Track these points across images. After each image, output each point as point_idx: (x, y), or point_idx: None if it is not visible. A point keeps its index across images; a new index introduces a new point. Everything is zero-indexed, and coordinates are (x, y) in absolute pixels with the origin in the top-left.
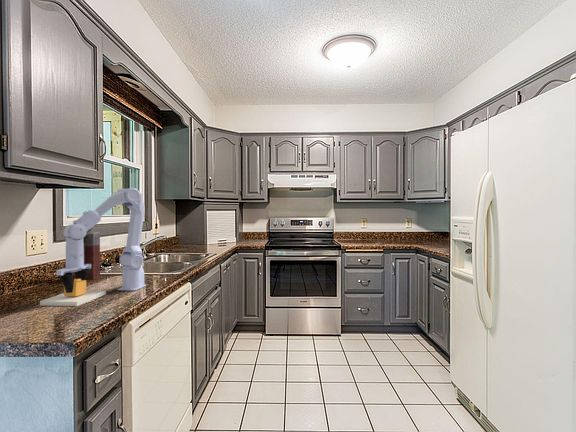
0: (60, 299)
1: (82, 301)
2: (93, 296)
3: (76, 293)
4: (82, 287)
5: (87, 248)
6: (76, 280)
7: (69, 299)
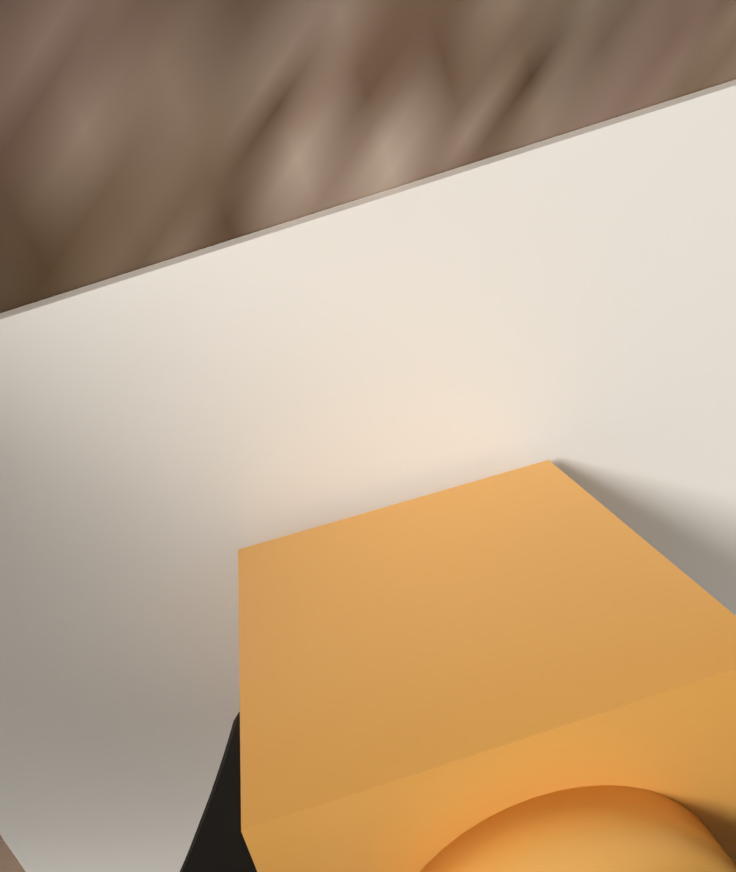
0: (719, 580)
1: (627, 115)
2: (255, 236)
3: (568, 489)
4: (402, 604)
5: None
6: (690, 850)
7: (684, 429)
